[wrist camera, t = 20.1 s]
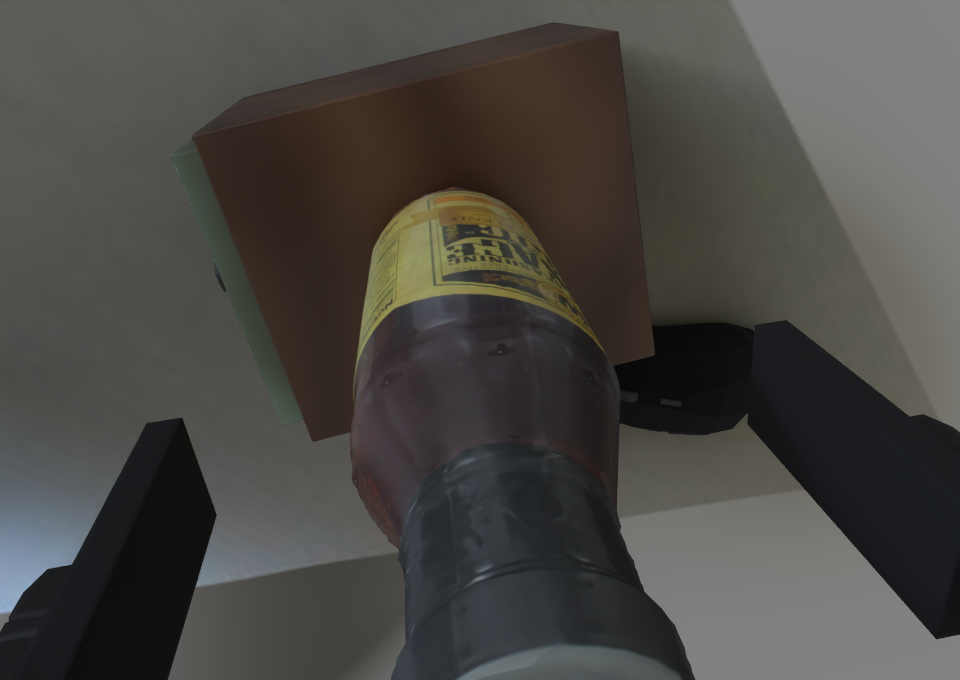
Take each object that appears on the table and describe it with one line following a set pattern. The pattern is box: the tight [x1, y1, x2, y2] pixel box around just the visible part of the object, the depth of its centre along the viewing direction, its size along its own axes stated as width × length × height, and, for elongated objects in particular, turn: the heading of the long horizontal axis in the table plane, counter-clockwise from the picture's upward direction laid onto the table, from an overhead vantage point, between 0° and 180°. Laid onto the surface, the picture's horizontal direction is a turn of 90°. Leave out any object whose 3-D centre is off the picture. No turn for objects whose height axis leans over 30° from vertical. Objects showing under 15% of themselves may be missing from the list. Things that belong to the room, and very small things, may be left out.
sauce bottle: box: [350, 187, 695, 680], centre depth 18 cm, size 7×6×20 cm
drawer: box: [171, 140, 304, 425], centre depth 31 cm, size 15×12×8 cm
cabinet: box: [192, 22, 655, 441], centre depth 31 cm, size 15×13×10 cm
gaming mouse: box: [613, 323, 754, 435], centre depth 40 cm, size 6×15×4 cm, turn 88°
